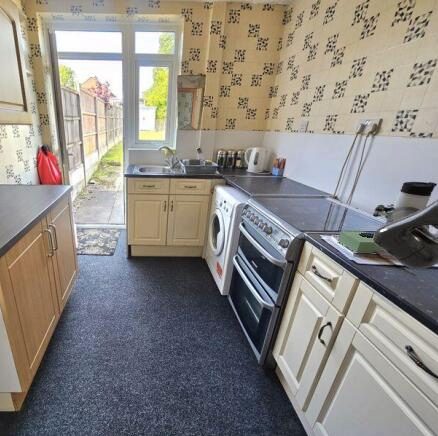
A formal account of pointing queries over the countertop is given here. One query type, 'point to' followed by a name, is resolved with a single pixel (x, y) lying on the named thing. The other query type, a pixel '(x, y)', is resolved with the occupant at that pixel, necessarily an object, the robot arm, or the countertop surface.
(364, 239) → the riser block
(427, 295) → the countertop surface
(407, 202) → the travel mug
